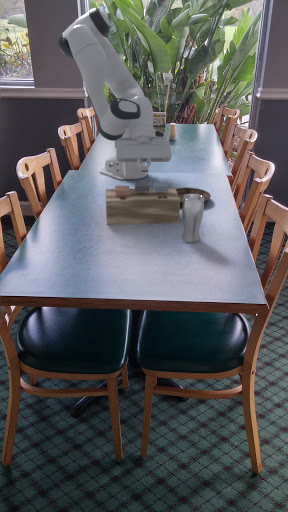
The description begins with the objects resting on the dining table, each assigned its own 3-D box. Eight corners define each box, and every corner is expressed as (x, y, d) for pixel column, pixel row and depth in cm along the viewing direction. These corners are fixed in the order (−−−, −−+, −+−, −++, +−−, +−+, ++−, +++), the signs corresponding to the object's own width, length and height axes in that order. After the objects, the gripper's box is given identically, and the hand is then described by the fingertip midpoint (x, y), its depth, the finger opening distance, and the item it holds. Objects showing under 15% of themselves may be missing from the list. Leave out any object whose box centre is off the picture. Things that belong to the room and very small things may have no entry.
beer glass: (203, 236, 155) (206, 195, 148) (198, 245, 149) (202, 202, 142) (183, 233, 157) (185, 192, 150) (178, 241, 151) (180, 199, 144)
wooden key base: (106, 211, 174) (105, 188, 169) (173, 210, 176) (174, 187, 171) (106, 224, 163) (106, 200, 159) (178, 222, 165) (180, 198, 161)
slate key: (153, 186, 168) (153, 181, 167) (166, 186, 168) (166, 181, 167) (154, 191, 164) (154, 186, 163) (168, 191, 164) (168, 185, 163)
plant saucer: (159, 196, 190) (160, 189, 188) (198, 191, 195) (198, 185, 194) (177, 212, 175) (177, 204, 174) (218, 206, 181) (218, 199, 179)
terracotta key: (115, 190, 167) (115, 185, 166) (128, 190, 168) (128, 185, 167) (115, 195, 163) (115, 190, 162) (129, 195, 163) (129, 190, 162)
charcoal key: (134, 187, 167) (134, 181, 166) (147, 186, 168) (147, 181, 167) (135, 191, 163) (135, 186, 162) (149, 191, 163) (149, 186, 162)
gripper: (114, 133, 165) (115, 167, 161) (170, 133, 166) (173, 167, 162) (114, 142, 171) (115, 176, 167) (168, 142, 173) (171, 175, 168)
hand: (144, 171), depth 165 cm, fingers closed
